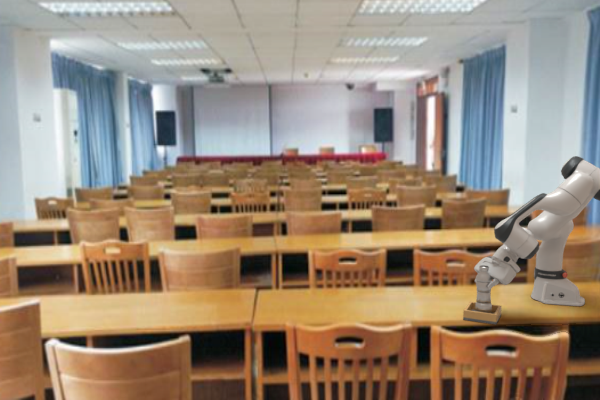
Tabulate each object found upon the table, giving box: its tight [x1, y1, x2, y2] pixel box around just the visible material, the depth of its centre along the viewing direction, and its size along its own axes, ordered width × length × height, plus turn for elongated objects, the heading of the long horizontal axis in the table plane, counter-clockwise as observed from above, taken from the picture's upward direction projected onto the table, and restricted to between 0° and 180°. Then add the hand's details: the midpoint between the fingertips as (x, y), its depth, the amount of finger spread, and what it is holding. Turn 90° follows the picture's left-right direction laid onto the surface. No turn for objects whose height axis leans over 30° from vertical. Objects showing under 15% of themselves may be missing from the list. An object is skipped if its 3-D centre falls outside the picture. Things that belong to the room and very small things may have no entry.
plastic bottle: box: [475, 265, 493, 313], centre depth 228 cm, size 6×7×20 cm
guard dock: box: [462, 301, 502, 325], centre depth 230 cm, size 13×13×4 cm
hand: (482, 285), depth 229 cm, fingers open, 7 cm apart
